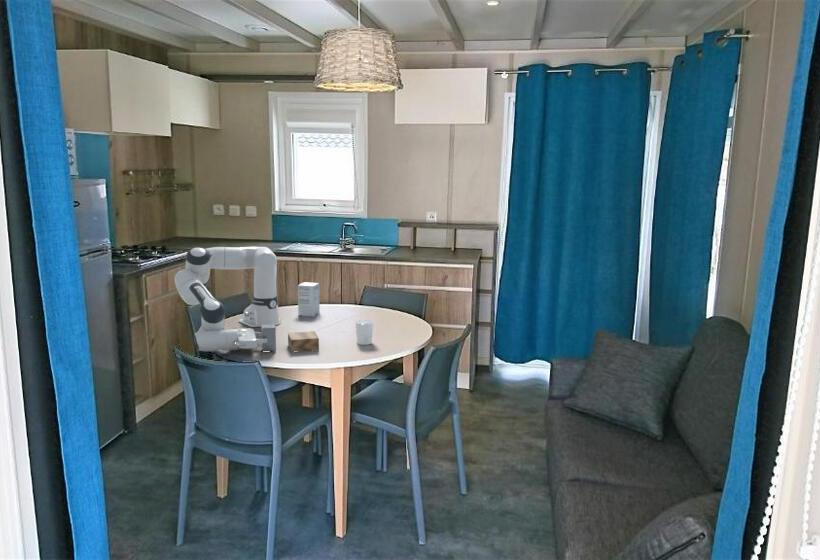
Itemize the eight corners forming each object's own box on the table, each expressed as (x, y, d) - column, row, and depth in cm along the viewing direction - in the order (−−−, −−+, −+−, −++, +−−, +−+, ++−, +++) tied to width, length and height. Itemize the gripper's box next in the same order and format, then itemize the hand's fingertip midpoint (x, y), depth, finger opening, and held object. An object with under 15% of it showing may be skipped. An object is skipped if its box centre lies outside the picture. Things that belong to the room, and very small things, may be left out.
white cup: (356, 340, 299) (356, 319, 297) (373, 340, 299) (373, 320, 297) (354, 345, 291) (354, 323, 289) (372, 345, 291) (372, 324, 289)
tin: (262, 352, 278) (262, 328, 276) (261, 349, 283) (261, 325, 281) (276, 351, 279) (275, 327, 277) (274, 348, 285) (274, 324, 283)
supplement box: (304, 311, 355) (303, 281, 352) (320, 312, 353) (319, 282, 350) (297, 315, 346) (297, 285, 343) (314, 316, 344) (313, 285, 341)
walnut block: (291, 353, 279) (291, 340, 277) (288, 345, 290) (287, 333, 289) (318, 351, 282) (318, 338, 281) (314, 343, 293) (314, 331, 292)
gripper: (234, 338, 265) (268, 336, 270) (232, 326, 285) (264, 324, 289) (234, 353, 267) (268, 350, 271) (232, 340, 286) (264, 338, 290)
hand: (266, 337), depth 280 cm, fingers open, 8 cm apart
